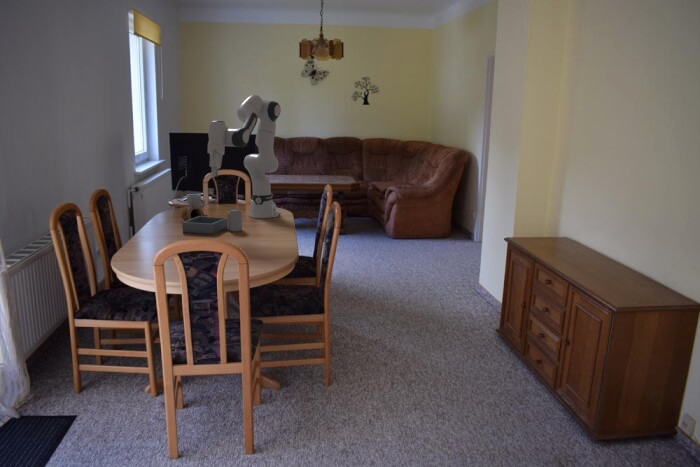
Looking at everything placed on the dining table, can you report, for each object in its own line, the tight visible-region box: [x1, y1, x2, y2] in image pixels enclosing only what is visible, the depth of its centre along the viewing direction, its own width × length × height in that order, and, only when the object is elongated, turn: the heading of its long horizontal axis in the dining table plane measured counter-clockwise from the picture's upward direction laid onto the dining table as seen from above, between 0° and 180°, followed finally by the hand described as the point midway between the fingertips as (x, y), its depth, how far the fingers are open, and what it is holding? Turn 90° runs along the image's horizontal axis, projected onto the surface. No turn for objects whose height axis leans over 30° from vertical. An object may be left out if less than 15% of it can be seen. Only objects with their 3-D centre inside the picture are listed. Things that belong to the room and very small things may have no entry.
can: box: [227, 208, 243, 233], centre depth 311 cm, size 8×8×12 cm
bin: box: [181, 215, 228, 236], centre depth 311 cm, size 18×18×6 cm
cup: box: [186, 193, 206, 209], centre depth 359 cm, size 10×9×12 cm
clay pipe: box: [180, 206, 204, 222], centre depth 335 cm, size 19×11×15 cm
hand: (214, 176), depth 301 cm, fingers open, 8 cm apart
